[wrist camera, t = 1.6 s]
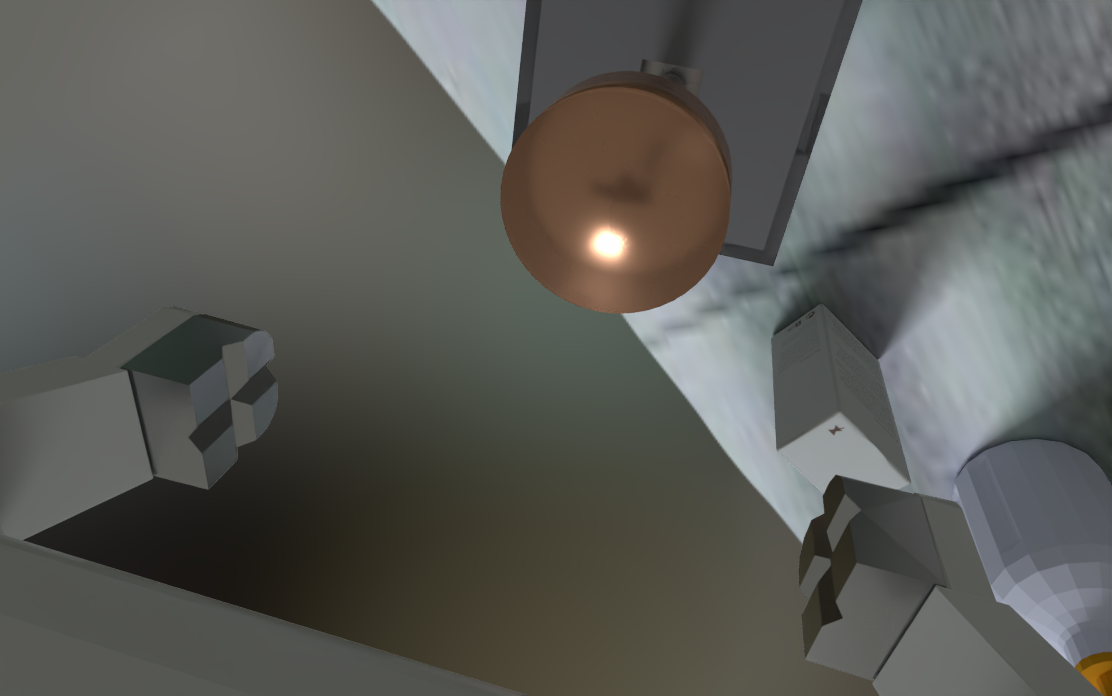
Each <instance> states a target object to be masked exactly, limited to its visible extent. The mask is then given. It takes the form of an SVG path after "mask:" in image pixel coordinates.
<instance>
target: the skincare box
mask: <svg viewBox="0 0 1112 696" xmlns="http://www.w3.org/2000/svg"><path fill="white" fill-rule="evenodd" d="M771 345H772V366H773V389H774V409H775V430H776V449H777V452H778V453H779V454H781V455H782V456H783V457H784V458H785V459H786V460H787V461H788V462H789V463H790V464H791V465H792V466H793V467H794V468H796V469H797V470H798V471H799V472H800V473H801V474H802V475H803V476H804V477H805V478H806V479H808V480H809V481H810V482H811V483H812V484H813V485H814V486H815V487H816V488H818V489H819V490H820V491H821V492H822V493H823V494H824V492H825V490H826V488H827V486H828V484H829V482H830V481H831V480H832V479H833V477H834V476H835V475H840V476H844V477H848V478H852V479H856V480H860V481H864V482H868V483H872V484H876V485H880V486H884V487H888V488H893V489H897V490H898V489H900V488H902V487H904V486H907V485H909V484H910V483H911V479H910V476H909V472H908V469H907V465H906V461H905V457H904V453H903V450H902V446H901V442H900V438H899V435H898V431H897V427H896V424H895V420H894V416H893V413H892V409H891V405H890V402H889V398H888V394H887V391H886V387H885V383H884V379H883V376H882V372H881V368H880V364H879V361H878V360H877V359H876V358H875V357H874V356H873V355H872V354H871V353H870V352H869V351H868V350H867V349H866V347H865V346H864V345H863V344H862V343H861V342H860V341H859V340H858V339H857V338H856V337H855V336H854V335H853V334H852V333H851V332H850V331H849V330H848V329H847V328H846V327H845V326H844V325H843V324H842V323H841V322H840V321H839V320H838V319H837V318H836V317H835V316H834V315H833V314H832V313H831V312H830V311H829V309H828V308H827V307H826V306H825V305H824V304H822V303H821V304H819V305H818V306H816V307H815V308H813V309H812V310H810V311H809V312H807V313H806V314H805V315H803V316H802V317H800V318H799V319H797V320H796V321H795V322H793V323H792V324H790V325H789V326H787V327H786V328H784V329H783V330H782V331H780V332H779V333H777V334H776V335H774V336H773V337H772V338H771Z"/></svg>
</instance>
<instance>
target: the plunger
mask: <svg viewBox="0 0 1112 696" xmlns="http://www.w3.org/2000/svg"><path fill="white" fill-rule="evenodd" d="M702 75H703V70H698V69H692V68H687V67H682V66H677V65H671V64H666V63H661V62H655V61H650V60H644V65H643V70H642V72H637V71H616V72H610V73H604V74H600V75H597V76H594V77H591V78H588V79H586V80H584V81H582V82H580V83H578V84H576V85H574V86H573V87H571V88H570V89H568V90H567V91H565V92H564V93H563V94H562V95H561V96H560V97H558V98H557V99H556V100H555V101H554V102H553V103H552V104H551V105H550V106H549V107H548V108H546V109H545V110H544V111H543V112H542V113H541V114H540V115H539V116H538V117H537V118H536V119H535V120H534V121H533V122H532V123H531V124H530V125H529V126H528V127H527V128H526V130H525V131H524V132H523V133H522V134H521V136H520V137H519V139H518V140H517V142H516V143H515V145H514V146H513V149H512V151H511V153H510V155H509V157H508V159H507V163H506V166H505V169H504V172H503V178H502V184H501V211H502V217H503V222H504V226H505V230H506V233H507V235H508V238H509V241H510V243H511V245H512V247H513V249H514V251H515V253H516V255H517V256H518V258H519V259H520V261H521V262H522V264H523V265H524V266H525V268H526V269H527V270H528V271H529V272H530V273H531V275H532V276H533V277H534V278H535V279H536V280H538V281H539V282H540V283H541V284H542V285H543V286H544V287H546V288H547V289H548V290H550V291H551V292H553V293H554V294H555V295H557V296H559V297H561V298H562V299H564V300H566V301H568V302H570V303H573V304H575V305H578V306H580V307H584V308H587V309H590V310H594V311H600V312H605V313H635V312H640V311H646V310H650V309H653V308H656V307H660V306H662V305H664V304H667V303H669V302H671V301H673V300H675V299H677V298H678V297H680V296H681V295H683V294H685V293H686V292H687V291H689V290H690V289H691V288H692V287H694V286H695V285H696V284H697V283H698V282H699V281H700V280H701V279H702V278H703V277H704V276H705V275H706V273H707V272H708V270H709V269H710V268H711V266H712V265H713V264H714V262H715V260H716V258H717V256H718V254H719V253H720V251H721V248H722V245H723V243H724V240H725V237H726V233H727V229H728V224H729V215H730V203H731V190H732V176H733V174H732V161H731V156H730V151H729V147H728V144H727V141H726V138H725V136H724V133H723V131H722V129H721V127H720V126H719V124H718V122H717V120H716V119H715V117H714V116H713V115H712V113H711V112H710V110H709V109H708V108H707V107H706V106H705V105H704V104H703V103H702V102H701V101H700V100H699V99H698V98H697V97H698V92H699V88H700V84H701V80H702Z"/></svg>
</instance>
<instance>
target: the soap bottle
mask: <svg viewBox="0 0 1112 696" xmlns="http://www.w3.org/2000/svg"><path fill="white" fill-rule="evenodd" d="M952 500H953V501H954V502H956V503H957V504H958V505H959V506H960V507H961V508H962V510H963V513H964V515H965V518H966V521H967V524H968V526H969V529H970V532H971V534H972V537H973V540H974V542H975V545H976V548H977V551H978V553H979V556H980V559H981V561H982V564H983V567H984V569H985V572H986V575H987V577H988V580H989V583H990V586H991V588H992V591H993V594H994V596H995V599H996V602H1000V603H1004V604H1007V605H1010V606H1011V607H1012V608H1013V609H1014V610H1015V611H1016V612H1017V613H1018V614H1019V615H1020V616H1021V617H1022V618H1023V619H1024V620H1025V621H1026V622H1027V623H1029V624H1030V625H1031V626H1032V627H1033V628H1034V629H1035V630H1036V631H1037V632H1038V633H1039V634H1040V635H1041V636H1042V637H1043V638H1044V639H1045V640H1046V641H1047V642H1048V643H1049V644H1050V645H1051V646H1052V647H1053V648H1055V649H1056V650H1057V651H1058V652H1059V653H1060V654H1061V655H1062V656H1063V657H1064V658H1065V659H1066V660H1067V661H1068V662H1069V663H1070V664H1071V665H1072V666H1073V667H1074V668H1075V669H1076V670H1077V671H1078V672H1080V673H1081V674H1082V675H1083V676H1084V677H1085V678H1086V679H1087V680H1088V681H1089V682H1090V683H1091V684H1092V685H1093V686H1094V687H1095V688H1096V689H1097V690H1098V691H1099V692H1100V693H1101V694H1102V695H1103V696H1112V485H1111V483H1110V482H1109V480H1108V478H1107V477H1106V475H1105V474H1104V472H1103V470H1102V469H1101V468H1100V467H1099V466H1098V465H1097V464H1096V463H1095V462H1094V461H1093V459H1092V458H1091V457H1090V456H1089V455H1088V454H1087V453H1085V452H1083V451H1080V450H1078V449H1076V448H1074V447H1071V446H1069V445H1067V444H1065V443H1062V442H1056V441H1049V440H1042V439H1028V440H1019V441H1010V442H1007V443H1004V444H1001V445H998V446H996V447H993V448H990V449H987V450H985V451H983V452H982V453H981V454H979V455H978V456H976V457H975V458H974V459H972V460H971V461H969V462H968V463H967V464H966V465H965V467H964V468H963V469H962V471H961V472H960V474H959V475H958V477H957V478H956V480H955V484H954V491H953V498H952Z"/></svg>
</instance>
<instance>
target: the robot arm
mask: <svg viewBox="0 0 1112 696" xmlns="http://www.w3.org/2000/svg"><path fill="white" fill-rule="evenodd" d="M273 357H274V351H273V343H272V337H271V336H270V335H269V334H268V333H266V332H265V331H264V330H261V329H257V328H254V327H250V326H247V325H243V324H239V323H235V322H232V321H228V320H225V319H221V318H217V317H214V316H210V315H207V314H201V313H199V312H195V311H191V310H187V309H183V308H179V307H175V306H173V307H163V308H161V309H160V310H158V311H156V312H155V313H153V314H152V315H150V316H149V317H147V318H146V319H144V320H142V321H141V322H140V323H138V324H137V325H135V326H133V327H132V328H130V329H129V330H127V331H125V332H124V333H122V334H121V335H119V336H118V337H116V338H115V339H113V340H112V341H110V342H109V343H107V344H106V345H104V346H102V347H101V348H99V349H98V350H96V351H95V352H93V353H92V354H90V355H88V356H87V357H86V358H84V359H82V358H79V357H75V356H73V357H68V358H64V359H60V360H55V361H51V362H47V363H42V364H38V365H34V366H29V367H25V368H21V369H17V370H12V371H8V372H3V373H0V696H528V695H525V694H522V693H518V692H515V691H512V690H508V689H505V688H502V687H499V686H495V685H492V684H489V683H486V682H483V681H479V680H476V679H472V678H469V677H466V676H463V675H460V674H456V673H453V672H450V671H447V670H443V669H440V668H437V667H433V666H430V665H427V664H424V663H420V662H417V661H414V660H410V659H407V658H404V657H401V656H397V655H394V654H391V653H388V652H385V651H381V650H378V649H375V648H372V647H368V646H365V645H362V644H359V643H355V642H352V641H349V640H345V639H342V638H339V637H336V636H332V635H329V634H326V633H323V632H319V631H316V630H313V629H309V628H306V627H303V626H300V625H297V624H293V623H290V622H286V621H283V620H280V619H277V618H274V617H270V616H267V615H264V614H260V613H257V612H254V611H250V610H248V609H244V608H241V607H238V606H234V605H231V604H228V603H224V602H221V601H218V600H215V599H212V598H208V597H205V596H202V595H199V594H195V593H192V592H189V591H185V590H182V589H179V588H176V587H172V586H169V585H165V584H163V583H159V582H156V581H153V580H149V579H146V578H143V577H140V576H136V575H133V574H130V573H127V572H123V571H120V570H117V569H114V568H110V567H107V566H104V565H101V564H97V563H94V562H90V561H87V560H84V559H81V558H78V557H74V556H71V555H68V554H65V553H61V552H58V551H54V550H51V549H48V548H45V547H41V546H38V545H35V544H32V543H29V542H25V541H22V540H23V539H26V538H28V537H30V536H32V535H34V534H36V533H38V532H40V531H43V530H45V529H47V528H49V527H51V526H53V525H55V524H58V523H60V522H62V521H64V520H66V519H68V518H70V517H72V516H75V515H77V514H79V513H81V512H83V511H85V510H87V509H89V508H91V507H94V506H96V505H98V504H100V503H102V502H104V501H106V500H108V499H110V498H113V497H115V496H117V495H119V494H121V493H123V492H125V491H128V490H130V489H132V488H134V487H136V486H138V485H140V484H142V483H145V482H146V481H149V480H151V479H153V476H157V477H161V478H165V479H169V480H173V481H177V482H181V483H185V484H188V485H192V486H196V487H200V488H204V489H208V490H209V489H210V487H211V486H212V485H213V484H214V483H215V482H216V481H217V480H218V479H219V478H220V477H221V476H222V475H223V474H224V473H225V472H226V471H227V470H228V468H230V467H231V466H232V465H233V464H234V463H235V462H236V460H237V459H238V457H237V447H238V446H241V445H244V444H246V443H249V442H252V441H254V440H256V439H257V438H258V437H259V436H260V435H261V434H262V433H263V432H264V431H265V429H266V428H267V427H268V425H269V423H270V421H271V419H272V417H273V415H274V412H275V410H276V405H277V398H278V388H277V380H276V379H275V378H274V376H273V375H272V374H271V372H270V371H269V369H268V368H267V366H266V365H267V364H268V363H269V362H270V361H271V360H272V358H273ZM823 504H824V514H822V515H820V516H819V517H817V518H815V519H813V520H811V523H810V525H809V527H808V530H807V532H806V535H805V537H804V540H803V545H802V549H801V553H800V558H799V588H800V590H801V591H802V592H803V594H804V595H805V596H806V597H807V599H808V600H809V601H808V603H807V606H806V608H805V609H804V612H803V613H802V616H801V617H802V630H803V642H804V653H805V660H808V661H811V662H814V663H817V664H821V665H824V666H827V667H830V668H833V669H836V670H840V671H843V672H846V673H849V674H852V675H856V676H859V677H862V678H865V679H869V680H872V681H874V682H873V686H874V687H875V689H876V691H877V692H878V694H879V695H880V696H1103V695H1102V694H1101V693H1100V692H1099V691H1098V690H1097V689H1096V688H1095V687H1094V686H1093V685H1092V684H1091V683H1090V682H1089V681H1088V680H1087V679H1086V678H1085V677H1084V676H1083V675H1082V674H1081V673H1080V672H1078V671H1077V670H1076V669H1075V668H1074V667H1073V666H1072V665H1071V664H1070V663H1069V662H1068V661H1067V660H1066V659H1065V658H1064V657H1063V656H1062V655H1061V654H1060V653H1059V652H1058V651H1057V650H1056V649H1055V648H1053V647H1052V646H1051V645H1050V644H1049V643H1048V642H1047V641H1046V640H1045V639H1044V638H1043V637H1042V636H1041V635H1040V634H1039V633H1038V632H1037V631H1036V630H1035V629H1034V628H1033V627H1032V626H1031V625H1030V624H1029V623H1027V622H1026V621H1025V620H1024V619H1023V618H1022V617H1021V616H1020V615H1019V614H1018V613H1017V612H1016V611H1015V610H1014V609H1013V608H1012V607H1011V606H1010V605H1007V604H1004V603H1000V602H996V599H995V596H994V594H993V591H992V588H991V586H990V583H989V580H988V577H987V575H986V572H985V569H984V567H983V564H982V561H981V559H980V556H979V553H978V551H977V548H976V545H975V542H974V540H973V537H972V534H971V532H970V529H969V526H968V524H967V521H966V518H965V515H964V513H963V510H962V508H961V507H960V506H959V505H958V504H957V503H956V502H954V501H950V500H945V499H941V498H937V497H932V496H928V495H923V494H919V493H914V494H913V493H909V492H905V491H901V490H897V489H893V488H888V487H884V486H880V485H876V484H872V483H868V482H864V481H860V480H856V479H852V478H848V477H844V476H840V475H835V476H834V477H833V479H832V480H831V481H830V482H829V484H828V486H827V488H826V490H825V492H824V494H823Z"/></svg>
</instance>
